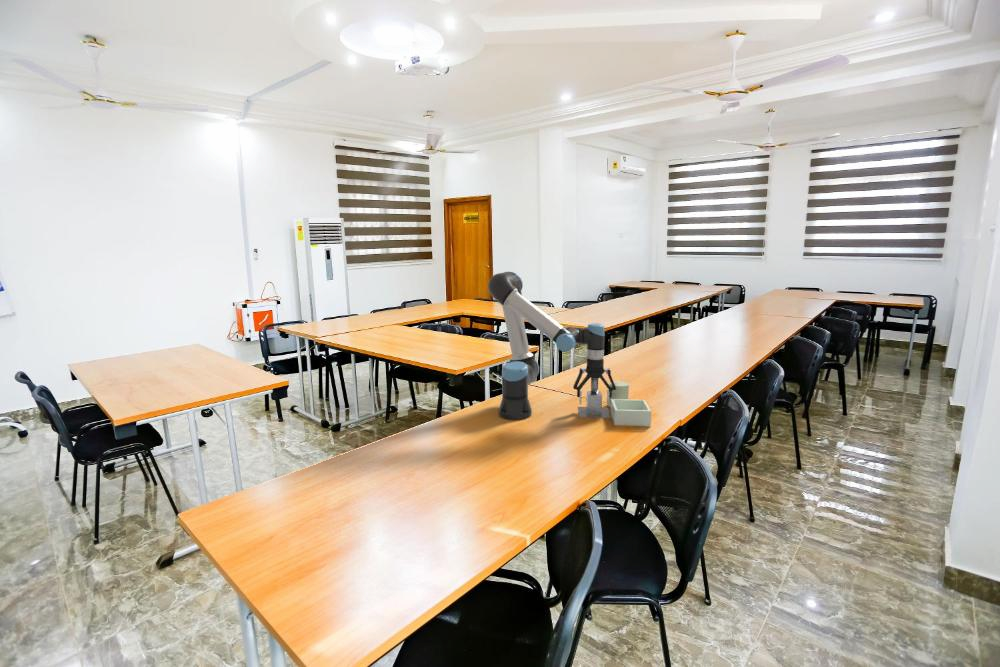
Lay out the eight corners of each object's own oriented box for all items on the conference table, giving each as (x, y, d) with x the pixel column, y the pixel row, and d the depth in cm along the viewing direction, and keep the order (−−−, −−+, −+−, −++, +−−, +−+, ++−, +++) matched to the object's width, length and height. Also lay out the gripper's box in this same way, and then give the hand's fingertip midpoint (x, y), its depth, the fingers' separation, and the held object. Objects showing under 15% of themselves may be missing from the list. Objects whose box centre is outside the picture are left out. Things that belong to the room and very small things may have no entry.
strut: (587, 414, 225) (588, 380, 222) (586, 409, 231) (587, 376, 228) (601, 414, 224) (602, 380, 221) (600, 409, 231) (601, 376, 228)
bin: (614, 425, 212) (615, 410, 211) (610, 413, 227) (611, 399, 225) (650, 426, 210) (651, 411, 209) (644, 414, 225) (644, 399, 224)
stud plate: (579, 417, 222) (579, 400, 220) (577, 407, 235) (577, 391, 234) (611, 418, 220) (611, 401, 219) (607, 408, 234) (608, 391, 232)
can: (604, 405, 238) (605, 381, 236) (620, 402, 242) (620, 378, 240) (616, 411, 230) (617, 386, 228) (632, 408, 234) (633, 383, 231)
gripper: (568, 359, 220) (567, 406, 225) (623, 360, 218) (621, 407, 222) (568, 355, 228) (567, 400, 232) (621, 356, 225) (619, 401, 229)
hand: (594, 404), depth 227 cm, fingers open, 12 cm apart
